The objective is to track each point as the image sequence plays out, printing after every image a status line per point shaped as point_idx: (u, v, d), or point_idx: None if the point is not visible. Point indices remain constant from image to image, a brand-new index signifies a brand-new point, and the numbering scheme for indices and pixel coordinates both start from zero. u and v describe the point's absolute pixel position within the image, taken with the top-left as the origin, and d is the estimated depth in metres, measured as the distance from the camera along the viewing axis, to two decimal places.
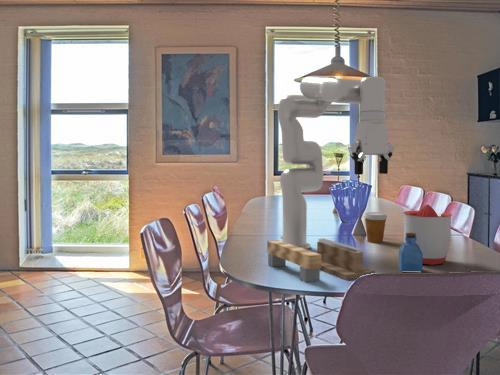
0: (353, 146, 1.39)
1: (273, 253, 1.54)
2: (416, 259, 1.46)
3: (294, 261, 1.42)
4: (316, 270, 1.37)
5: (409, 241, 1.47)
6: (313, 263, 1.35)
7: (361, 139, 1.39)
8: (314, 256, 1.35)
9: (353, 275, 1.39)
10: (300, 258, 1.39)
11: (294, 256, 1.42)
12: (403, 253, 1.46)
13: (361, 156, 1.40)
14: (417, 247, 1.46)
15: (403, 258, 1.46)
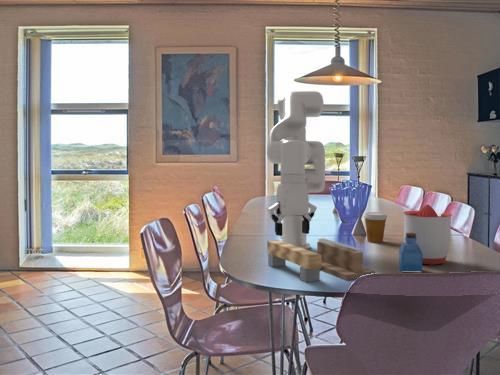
0: (272, 208, 1.42)
1: (273, 253, 1.54)
2: (416, 259, 1.46)
3: (294, 261, 1.42)
4: (316, 270, 1.37)
5: (409, 241, 1.47)
6: (313, 263, 1.35)
7: (280, 201, 1.42)
8: (314, 256, 1.35)
9: (353, 275, 1.39)
10: (300, 258, 1.39)
11: (294, 256, 1.42)
12: (403, 253, 1.46)
13: (280, 218, 1.42)
14: (417, 247, 1.46)
15: (403, 258, 1.46)
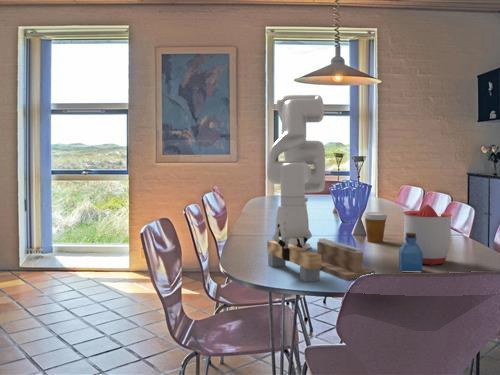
0: (276, 236, 1.43)
1: (273, 253, 1.54)
2: (416, 259, 1.46)
3: (294, 261, 1.42)
4: (316, 270, 1.37)
5: (409, 241, 1.47)
6: (313, 263, 1.35)
7: (280, 224, 1.43)
8: (314, 256, 1.35)
9: (353, 275, 1.39)
10: (300, 258, 1.39)
11: (294, 256, 1.42)
12: (403, 253, 1.46)
13: (286, 243, 1.44)
14: (417, 247, 1.46)
15: (403, 258, 1.46)
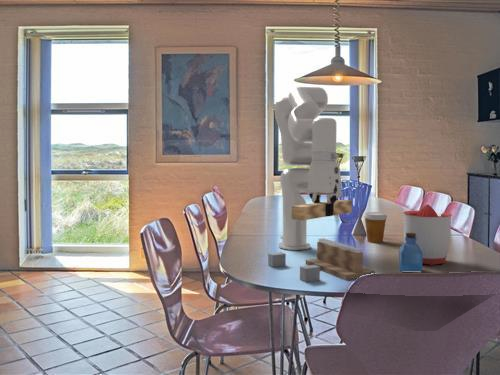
0: (307, 189, 1.51)
1: None
2: (416, 259, 1.46)
3: None
4: (316, 270, 1.37)
5: (409, 241, 1.47)
6: (294, 214, 1.39)
7: None
8: (295, 207, 1.39)
9: (353, 275, 1.39)
10: None
11: None
12: (403, 253, 1.46)
13: (313, 197, 1.49)
14: (417, 247, 1.46)
15: (403, 258, 1.46)
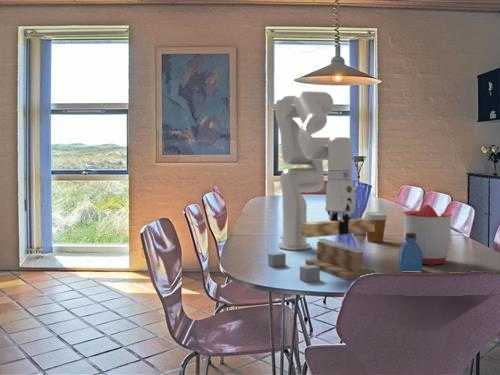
0: None
1: None
2: (416, 259, 1.46)
3: None
4: (316, 270, 1.37)
5: (409, 241, 1.47)
6: (303, 231, 1.44)
7: None
8: (304, 224, 1.44)
9: (353, 275, 1.39)
10: None
11: None
12: (403, 253, 1.46)
13: (330, 215, 1.51)
14: (417, 247, 1.46)
15: (403, 258, 1.46)
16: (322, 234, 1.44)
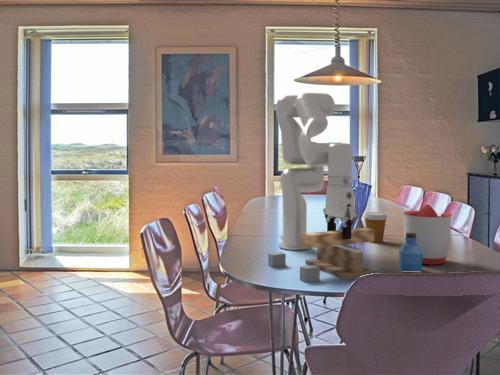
0: (324, 209, 1.55)
1: None
2: (416, 259, 1.46)
3: None
4: (316, 270, 1.37)
5: (409, 241, 1.47)
6: (303, 241, 1.45)
7: None
8: (304, 235, 1.44)
9: (353, 275, 1.39)
10: None
11: None
12: (403, 253, 1.46)
13: (327, 218, 1.52)
14: (417, 247, 1.46)
15: (403, 258, 1.46)
16: (322, 245, 1.44)
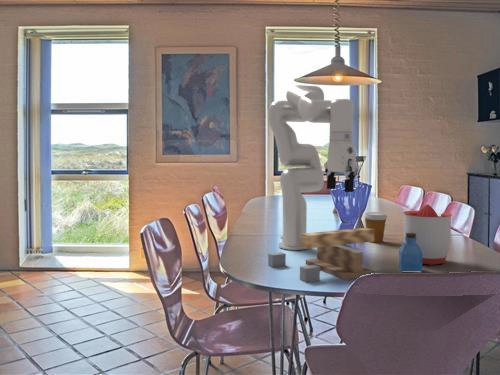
0: (326, 163, 1.58)
1: None
2: (416, 259, 1.46)
3: None
4: (316, 270, 1.37)
5: (409, 241, 1.47)
6: (303, 241, 1.45)
7: None
8: (304, 235, 1.44)
9: (353, 275, 1.39)
10: None
11: None
12: (403, 253, 1.46)
13: (328, 172, 1.56)
14: (417, 247, 1.46)
15: (403, 258, 1.46)
16: (322, 245, 1.44)
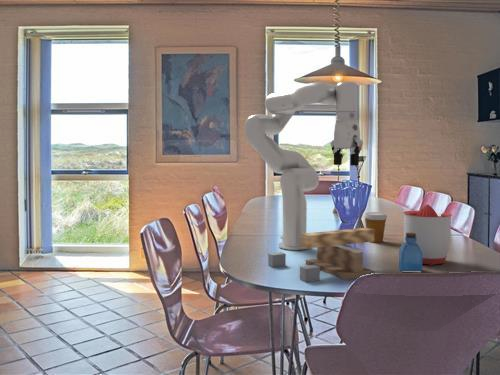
0: (332, 142, 1.73)
1: None
2: (416, 259, 1.46)
3: None
4: (316, 270, 1.37)
5: (409, 241, 1.47)
6: (303, 241, 1.45)
7: None
8: (304, 235, 1.44)
9: (353, 275, 1.39)
10: None
11: None
12: (403, 253, 1.46)
13: (334, 150, 1.71)
14: (417, 247, 1.46)
15: (403, 258, 1.46)
16: (322, 245, 1.44)
